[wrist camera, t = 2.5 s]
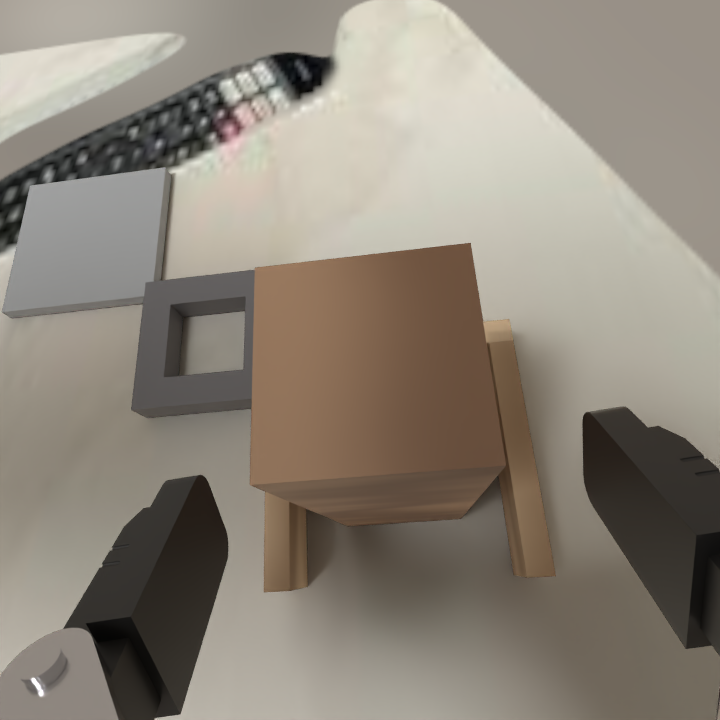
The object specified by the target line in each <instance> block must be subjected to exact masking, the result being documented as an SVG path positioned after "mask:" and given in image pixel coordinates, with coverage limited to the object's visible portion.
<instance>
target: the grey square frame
mask: <svg viewBox="0 0 720 720" xmlns="http://www.w3.org/2000/svg"><path fill="white" fill-rule="evenodd" d="M254 283H255V270H249V271H240V272H231V273H223V274H214V275H205V276H196V277H188V278H179V279H170V280H162V281H153V282H146V283H145V292H144V301H143V310H142V319H141V328H140V337H139V345H138V354H137V363H136V372H135V381H134V390H133V399H132V407H131V410H133V411H135V412H137V413H139V414H141V415H142V416H144V417H146V418H150V417H162V416H173V415H184V414H195V413H206V412H217V411H229V410H240V409H251V408H252V368H253V326H254ZM236 311H245V337H244V370H236V371H225V372H215V373H205V374H194V375H184V376H179V364H180V352H181V339H182V327H183V317H190V316H199V315H209V314H218V313H227V312H236Z"/></svg>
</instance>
